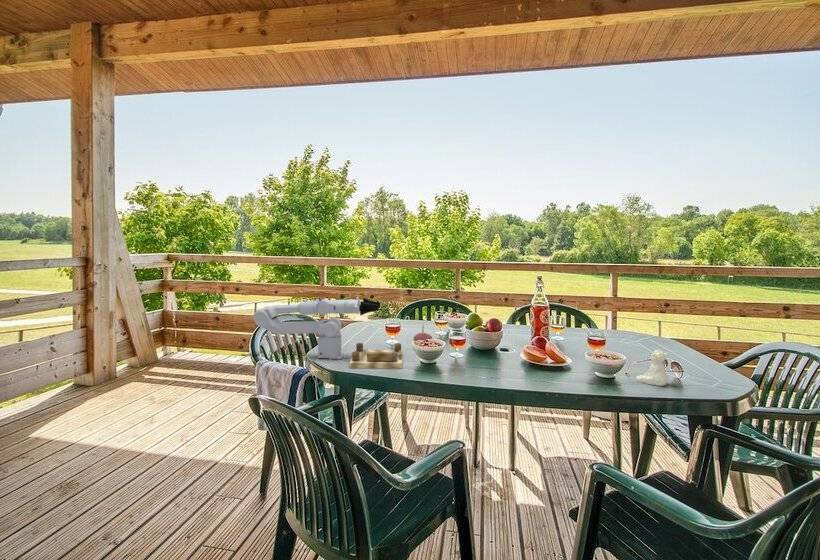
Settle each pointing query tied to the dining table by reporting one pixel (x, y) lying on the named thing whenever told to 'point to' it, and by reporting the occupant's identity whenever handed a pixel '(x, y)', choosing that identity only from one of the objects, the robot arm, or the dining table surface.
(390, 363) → the stool seat
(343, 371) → the dining table surface
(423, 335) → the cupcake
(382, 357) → the folding leg
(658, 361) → the seated beast figurine
